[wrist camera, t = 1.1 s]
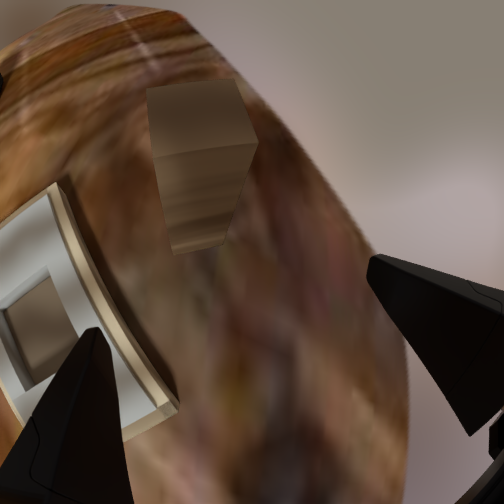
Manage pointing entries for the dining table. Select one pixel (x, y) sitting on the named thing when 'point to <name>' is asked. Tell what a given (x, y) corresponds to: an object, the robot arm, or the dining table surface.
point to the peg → (199, 158)
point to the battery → (1, 81)
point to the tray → (64, 315)
